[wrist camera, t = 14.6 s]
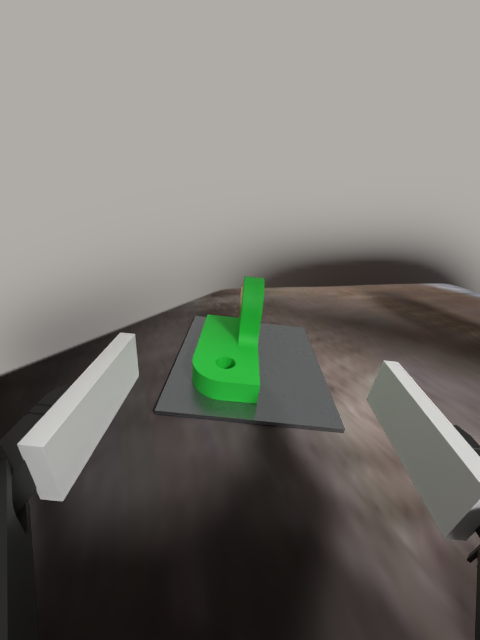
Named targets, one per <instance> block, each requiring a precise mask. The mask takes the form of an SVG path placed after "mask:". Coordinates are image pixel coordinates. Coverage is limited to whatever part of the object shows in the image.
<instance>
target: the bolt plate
mask: <svg viewBox="0 0 480 640" xmlns="http://www.w3.org/2000/svg"><path fill="white" fill-rule="evenodd" d="M243 286H244V285H242V286H241V295H240V304H239V313H238V318H240V314H241V304H242V295H243ZM205 320H206V317H201V316H195V318H194V320H193V323H192V325H191V327H190V330H189V332H188V334H187V337H186V339H185V341H184V343H183V346H182V348H181V350H180V353H179V355H178V357H177V360H176V362H175V364H174V367H173V369H172V371H171V373H170V376H169V378H168V380H167V383H166V385H165V387H164V390H163V392H162V394H161V396H160V399H159V401H158V403H157V406H156V408H155V410H154V411H155V414H158V415H168V416H179V417H189V418H199V419H209V420H219V421H229V422H239V423H249V424H259V425H269V426H279V427H289V428H300V429H310V430H320V431H330V432H340V433H344V430H345V428H344V426H343V423H342V421H341V418H340V416H339V413H338V411H337V408H336V406H335V403H334V401H333V398H332V396H331V393H330V391H329V388H328V386H327V383H326V381H325V379H324V376H323V374H322V371H321V369H320V366H319V364H318V361H317V359H316V356H315V354H314V351H313V349H312V346H311V344H310V341H309V339H308V336H307V334H306V331H305V329H304V327H296V326H286V325H277V324H267V323H261V324H260V331H259V338H258V358H259V376H260V389H259V395H258V400H257V404H254V403H243V402H233V401H223V400H216V399H212V398H209V397H207V396H205V395H203V394H202V393H200V392H199V391H198V390H197V389H196V388H195V386H194V384H193V381H192V366H193V356H194V353H195V350H196V347H197V344H198V341H199V338H200V335H201V332H202V329H203V326H204V323H205Z"/></svg>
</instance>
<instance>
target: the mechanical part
mask: <svg viewBox="0 0 480 640" xmlns="http://www.w3.org/2000/svg"><path fill="white" fill-rule="evenodd" d="M264 286H265V283H264V278H257V277H247V276H245V278H244V286H243V295H242V304H241V314H240V318H237V317H227V316H217V315H207V317H206V320H205V323H204V326H203V329H202V332H201V335H200V338H199V341H198V344H197V347H196V350H195V353H194V356H193V366H192V381H193V384H194V386H195V388H196V389H197V390H198V391H199V392H200V393H202V394H203V395H205V396H207V397H209V398H212V399H216V400H223V401H233V402H243V403H254V404H257V400H258V395H259V389H260V376H259V358H258V338H259V331H260V324H261V317H262V310H263V301H264Z"/></svg>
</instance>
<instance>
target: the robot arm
mask: <svg viewBox="0 0 480 640" xmlns="http://www.w3.org/2000/svg"><path fill="white" fill-rule="evenodd" d="M138 377H139V371H138V361H137V350H136V339H135V334H130V333H119V334H118V336H117V337H116V338H115V339H114V340H113V341H112V342H111V343H110V344H109V345H108V346H107V347H106V349H105V350H104V351H103V352H102V353H101V354H100V355H99V356H98V357H97V358H96V359H95V360H94V362H93V363H92V364H91V365H90V366H89V367H88V368H87V369H86V370H85V371H84V372H83V373H82V375H81V376H80V377H79V378H78V379H77V380H76V381H75V382H74V383H73V384H72V385H71V386H63V385H60V386H59V387H57V388H55V389H53V390H52V391H50V392H48V393H47V394H46V395H45V396H44V397H43V398H42V399H41V400H40V401H39V402H38V403H37V405H36V406H34V407H33V408H32V409H31V410H30V411H29V412H28V414H26V415H25V416H24V417H23V418H22V419H21V420H20V421H19V422H18V423H17V424H16V425H15V426H14V427H13V428H12V429H11V430H10V431H9V432H8V433H6V434H5V435H4V436H3V437H2V438H1V439H0V640H39V632H38V618H37V604H36V590H35V576H34V562H33V548H32V534H31V520H30V506H29V503H28V500H29V498H30V497H31V495H32V494H33V493H34V491H35V490H37V493H38V495H39V497H40V499H43V500H53V501H64V499H65V497H66V496H67V494H68V492H69V491H70V489H71V487H72V486H73V484H74V482H75V481H76V479H77V478H78V476H79V474H80V473H81V471H82V469H83V468H84V466H85V464H86V463H87V461H88V459H89V458H90V456H91V454H92V453H93V451H94V449H95V448H96V446H97V444H98V443H99V441H100V439H101V438H102V436H103V435H104V433H105V431H106V430H107V428H108V426H109V425H110V423H111V421H112V420H113V418H114V416H115V415H116V413H117V411H118V410H119V408H120V406H121V405H122V403H123V401H124V400H125V398H126V396H127V395H128V393H129V392H130V390H131V388H132V387H133V385H134V383H135V382H136V380H137V378H138ZM367 401H368V403H369V405H370V406H371V408H372V410H373V412H374V414H375V415H376V417H377V419H378V421H379V423H380V424H381V426H382V428H383V430H384V431H385V433H386V435H387V437H388V439H389V440H390V442H391V444H392V446H393V448H394V449H395V451H396V453H397V455H398V457H399V458H400V460H401V462H402V464H403V465H404V467H405V469H406V471H407V473H408V474H409V476H410V478H411V480H412V482H413V483H414V485H415V487H416V489H417V491H418V492H419V494H420V496H421V498H422V499H423V501H424V503H425V505H426V507H427V508H428V510H429V512H430V514H431V516H432V517H433V519H434V521H435V523H436V524H437V526H438V528H439V530H440V532H441V533H442V535H443V537H444V539H454V540H464V541H466V540H467V539H468V538H469V537H470V536H471V535H472V534H473V533H474V532H475V531H476V532H477V534H478V535H479V537H480V446H479V445H478V443H477V442H476V441H475V440H474V439H473V438H472V437H471V436H470V435H469V434H467V433H466V432H465V431H464V430H462V429H461V428H460V427H458V426H457V425H452V424H451V423H450V422H449V421H448V419H447V418H446V417H445V416H444V415H443V414H442V412H441V411H440V410H439V409H438V408H437V407H436V406H435V404H434V403H433V402H432V401H431V400H430V399H429V397H428V396H427V395H426V394H425V393H424V392H423V391H422V389H421V388H420V387H419V386H418V385H417V384H416V382H415V381H414V380H413V379H412V378H411V377H410V376H409V374H408V373H407V372H406V371H405V370H404V369H403V367H402V366H401V365H400V364H399V363H398V362H393V361H384V360H383V363H382V365H381V367H380V370H379V372H378V374H377V377H376V379H375V381H374V384H373V386H372V388H371V391H370V393H369V395H368V398H367ZM476 558H478V565H477V594H476V622H475V640H480V545H479V546H478V547H477V548H476V549H475V550H474V551H472V552H471V553H470V554H469V556H468V558H467V561H469V562H470V563H471V562H472V561H473V560H474V559H476Z"/></svg>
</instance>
